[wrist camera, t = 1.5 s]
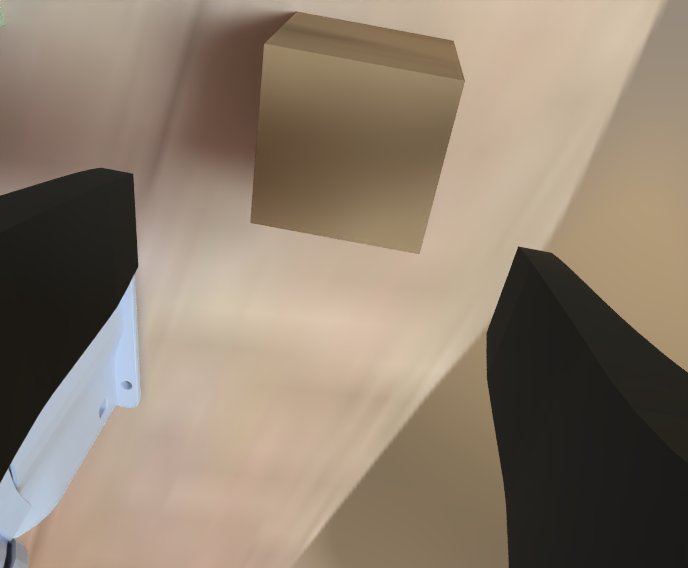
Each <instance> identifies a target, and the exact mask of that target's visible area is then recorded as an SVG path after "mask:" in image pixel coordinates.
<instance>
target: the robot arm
mask: <svg viewBox="0 0 688 568" xmlns="http://www.w3.org/2000/svg"><path fill="white" fill-rule="evenodd" d="M137 268H138V253H137V235H136V217H135V198H134V180H133V174H131V173H126V172H121V171H115V170H110V169H105V168H97V169H91V170H86V171H82V172H78V173H74V174H70V175H67V176H64V177H60V178H57V179H53V180H50V181H47V182H44V183H40V184H37V185H34V186H31V187H27V188H24V189H21V190H18V191H14V192H11V193H8V194H5V195H1V196H0V568H28V566H29V555H28V551H27V549H26V547H25V546H24V545H23V544H22V543H21V542H20V541H18V540H16V539H15V538H17V537H19V536H21V535H22V534H24V533H25V532H27V531H29V530H30V529H31V528H33V527H34V526H36V525H37V524H38V523H39V522H41V521H42V520H43V519H44V518H45V517H46V516H47V515H48V514H49V513H50V512H51V511H52V510H53V509H54V508H55V507H56V505H57V504H58V502H59V501H60V499H61V498H62V496H63V495H64V493H65V491H66V489H67V488H68V486H69V484H70V483H71V481H72V479H73V478H74V476H75V474H76V472H77V471H78V469H79V467H80V466H81V464H82V462H83V461H84V459H85V457H86V455H87V454H88V452H89V450H90V449H91V447H92V445H93V444H94V442H95V440H96V439H97V437H98V435H99V433H100V432H101V430H102V428H103V427H104V425H105V423H106V422H107V420H108V418H109V416H110V415H111V413H112V411H113V410H114V408H115V406H116V405H117V406H123V407H128V408H133V407H136V406H137V405H138V404H139V402H140V399H141V388H140V368H139V347H138V327H137V306H136V286H135V272H136V270H137ZM126 381H128V382H130V383H131V384H130V383H127V382H126ZM487 381H488V388H489V394H490V401H491V407H492V414H493V420H494V426H495V432H496V438H497V444H498V451H499V457H500V463H501V469H502V475H503V482H504V491H505V499H506V511H507V534H508V555H509V568H688V372H686V371H685V370H684V369H682V368H681V367H680V366H678V365H677V364H676V363H674V362H673V361H672V360H671V359H669V358H668V357H667V356H665V355H664V354H663V353H662V352H661V351H659V350H658V349H657V348H656V347H655V346H653V345H652V344H651V343H650V342H649V341H648V340H646V339H645V338H644V337H643V336H642V335H640V334H639V333H638V332H637V331H636V330H634V329H633V328H632V327H631V326H630V325H629V324H628V323H627V322H626V321H625V320H623V319H622V318H621V317H620V316H619V315H618V314H617V313H616V312H615V311H614V310H613V309H611V307H610V306H608V305H607V304H606V303H605V302H604V301H603V300H602V299H601V298H600V297H599V296H598V295H597V294H596V293H595V292H594V291H593V290H592V289H591V288H590V287H589V286H588V285H587V284H586V283H584V281H582V280H581V279H580V278H579V277H578V276H577V275H576V274H575V273H574V272H573V271H572V270H571V269H570V268H569V267H568V266H567V265H566V264H565V263H563V262H562V261H561V260H560V259H559V258H558V257H556V256H555V255H554V254H552V253H549V252H544V251H539V250H534V249H528V248H523V247H518V249H517V252H516V255H515V257H514V260H513V263H512V265H511V268H510V271H509V274H508V276H507V279H506V282H505V284H504V287H503V290H502V293H501V295H500V298H499V301H498V304H497V306H496V309H495V312H494V314H493V317H492V320H491V323H490V325H489V328H488V331H487Z"/></svg>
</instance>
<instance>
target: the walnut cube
mask: <svg viewBox="0 0 688 568" xmlns="http://www.w3.org/2000/svg"><path fill="white" fill-rule="evenodd" d="M464 82H465V80H464V76H463V73H462V69H461V66H460V62H459V59H458V55H457V52H456V48H455V44H454V41H451V40H446V39H441V38H435V37H430V36H425V35H419V34H414V33H409V32H403V31H398V30H392V29H387V28H382V27H376V26H371V25H366V24H360V23H355V22H350V21H344V20H339V19H334V18H328V17H323V16H317V15H312V14H307V13H301V12H296V13H295V14H294V15H293V16H292V17H291V18H290V19H289V20H288V21H287V22H286V23H285V24H284V25H283V26H282V27H281V28H280V29H279V30H278V31H277V32H275V33H274V34H273V35H272V36H271V37H270V38H269V39H268V40H267V41H266V42H265V43H264V52H263V65H262V78H261V91H260V104H259V117H258V130H257V143H256V156H255V169H254V182H253V195H252V208H251V221H250V223H254V224H260V225H265V226H270V227H276V228H281V229H287V230H292V231H297V232H303V233H308V234H314V235H319V236H324V237H330V238H335V239H341V240H346V241H351V242H357V243H362V244H368V245H373V246H378V247H384V248H389V249H395V250H400V251H405V252H411V253H416V254H419V253H420V250H421V246H422V242H423V238H424V234H425V231H426V227H427V223H428V219H429V215H430V212H431V208H432V204H433V200H434V196H435V192H436V189H437V185H438V181H439V177H440V173H441V170H442V166H443V162H444V158H445V154H446V151H447V147H448V143H449V139H450V135H451V132H452V128H453V124H454V120H455V116H456V113H457V109H458V105H459V101H460V97H461V94H462V90H463V86H464Z"/></svg>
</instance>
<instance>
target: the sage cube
mask: <svg viewBox="0 0 688 568" xmlns="http://www.w3.org/2000/svg"><path fill="white" fill-rule="evenodd" d="M3 25H6V22H5V19H4V16H3V12H2V9H1V6H0V26H3Z"/></svg>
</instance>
